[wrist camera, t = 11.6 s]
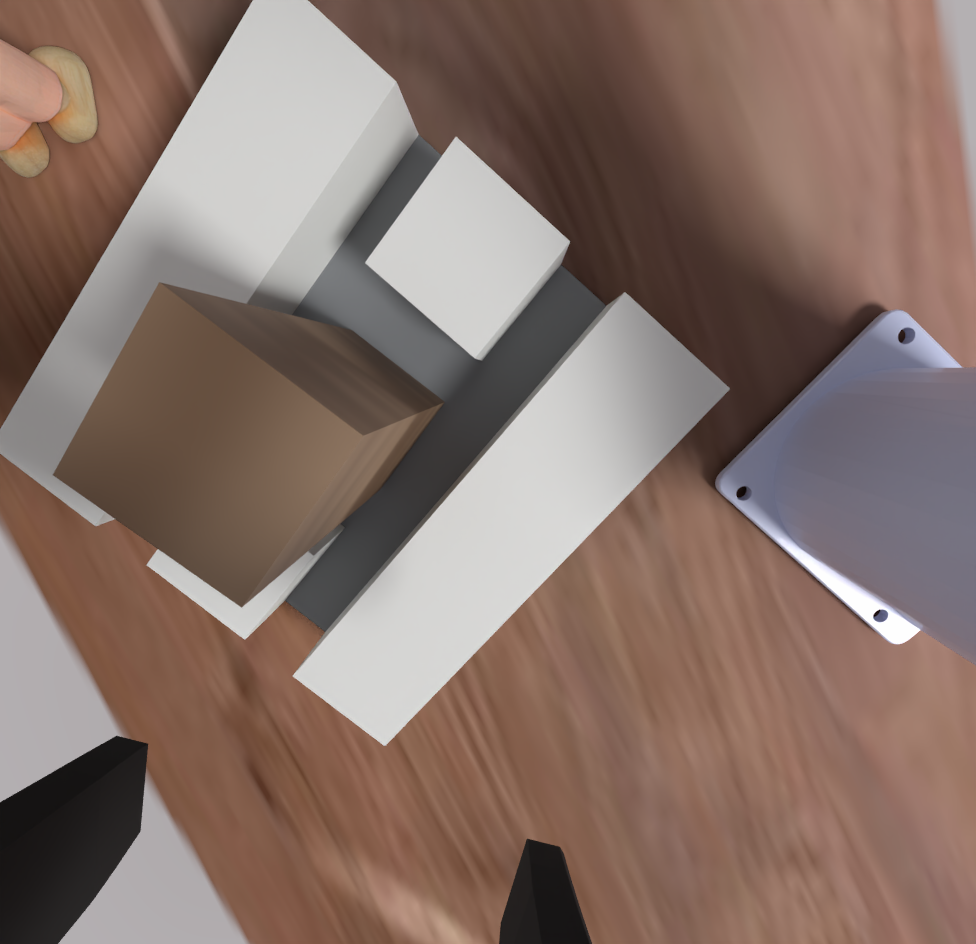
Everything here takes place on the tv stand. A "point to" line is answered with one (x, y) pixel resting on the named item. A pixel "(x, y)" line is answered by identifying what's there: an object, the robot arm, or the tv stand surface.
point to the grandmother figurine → (42, 104)
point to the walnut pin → (241, 435)
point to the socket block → (396, 334)
